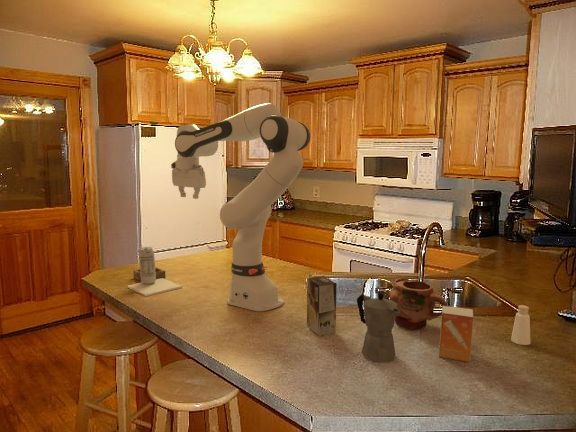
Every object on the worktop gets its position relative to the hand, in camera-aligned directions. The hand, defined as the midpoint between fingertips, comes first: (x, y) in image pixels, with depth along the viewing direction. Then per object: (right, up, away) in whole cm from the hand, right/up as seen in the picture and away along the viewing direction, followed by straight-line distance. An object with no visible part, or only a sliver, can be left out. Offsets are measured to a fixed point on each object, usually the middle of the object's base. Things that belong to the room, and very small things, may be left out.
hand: (189, 197), depth 182 cm
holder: (-20, -35, +12) cm, 42 cm away
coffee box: (+52, -44, -43) cm, 80 cm away
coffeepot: (+66, -47, -60) cm, 100 cm away
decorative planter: (+83, -44, -40) cm, 102 cm away
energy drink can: (-18, -36, +2) cm, 40 cm away
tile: (-14, -37, -1) cm, 40 cm away
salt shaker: (+111, -46, -51) cm, 130 cm away
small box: (+88, -47, -60) cm, 116 cm away
